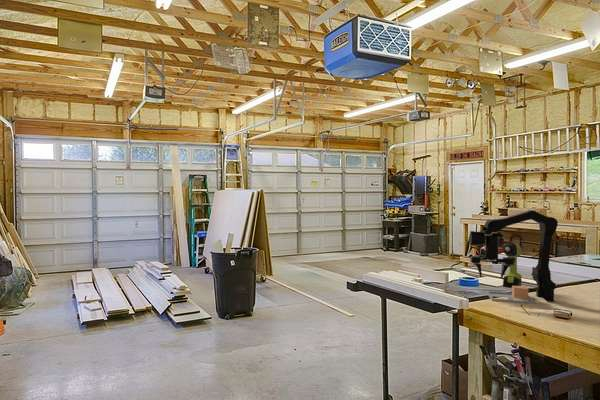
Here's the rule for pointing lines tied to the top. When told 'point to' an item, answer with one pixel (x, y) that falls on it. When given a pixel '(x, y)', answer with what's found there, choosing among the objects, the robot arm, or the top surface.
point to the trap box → (509, 296)
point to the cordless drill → (512, 277)
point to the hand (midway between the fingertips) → (491, 278)
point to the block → (520, 291)
